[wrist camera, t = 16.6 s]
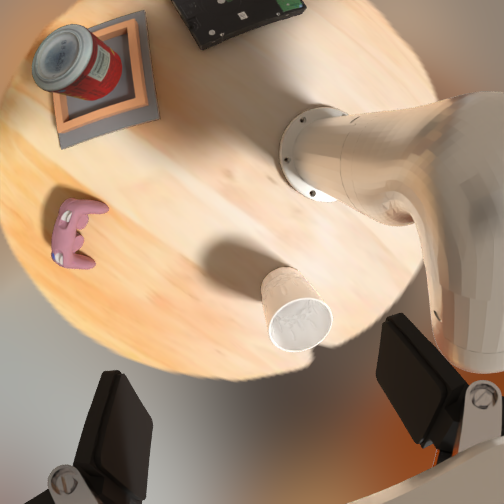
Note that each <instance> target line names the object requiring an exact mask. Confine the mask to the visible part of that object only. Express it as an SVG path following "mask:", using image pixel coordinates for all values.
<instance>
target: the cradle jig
mask: <svg viewBox="0 0 504 504" xmlns="http://www.w3.org/2000/svg"><path fill="white" fill-rule="evenodd" d="M88 30H89V31H90V32H92V33H93V34H94V35H95V36H97V37H98V38H99V39H100V40H102V41H103V42H104V43H105V44H106V45H108V46H109V47H110V48H111V49H112V50H114V51H115V52H116V53H117V54H118V55H119V57H120V59H121V62H122V75H121V77H120V80H119V82H118V84H117V86H116V87H115V88H114V89H113V90H112V91H111V92H110V93H109V94H108V95H106V96H104V97H103V98H100V99H97V100H94V101H87V100H83V99H79V98H75V97H71V96H66V95H62V94H58V93H53V100H54V109H55V117H56V124H57V130H58V133H59V139H60V145H61V150H62V149H66V148H69V147H71V146H74V145H77V144H79V143H82V142H85V141H88V140H91V139H93V138H96V137H99V136H102V135H106V134H109V133H112V132H115V131H118V130H122V129H125V128H128V127H132V126H135V125H139V124H143V123H146V122H150V121H154V120H158V119H160V115H159V109H158V103H157V96H156V90H155V83H154V77H153V70H152V62H151V55H150V47H149V39H148V30H147V21H146V12H145V10H143V11H139V12H136V13H132V14H129V15H126V16H122V17H119V18H116V19H113V20H111V21H108V22H105V23H102V24H99V25H97V26H94V27H92V28H89V29H88Z"/></svg>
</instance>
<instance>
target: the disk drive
mask: <svg viewBox="0 0 504 504" xmlns="http://www.w3.org/2000/svg"><path fill="white" fill-rule="evenodd" d="M171 1H172V3H173V4H174V6H175V8H176V9H177V11H178V12H179V14H180V16H181V17H182V19H183V21H184V22H185V24H186V26H187V27H188V29H189V31H190V32H191V34H192V36H193V37H194V39H195V41H196V42H197V44H198V46H199V48H200V49H201V50H204V49H207V48H209V47H211V46H214V45H217V44H219V43H221V42H222V41H225V40H227V39H229V38H232V37H234V36H237V35H239V34H242V33H245V32H247V31H250V30H253V29H255V28H258V27H261V26H264V25H267V24H270V23H273V22H276V21H279V20H284V19H287V18H290V17H293V16H297V15H300V14H302V13H303V12H304V11H305V9H306V8H307V7H306V5H305V4H304V2H303V1H302V0H171Z"/></svg>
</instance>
